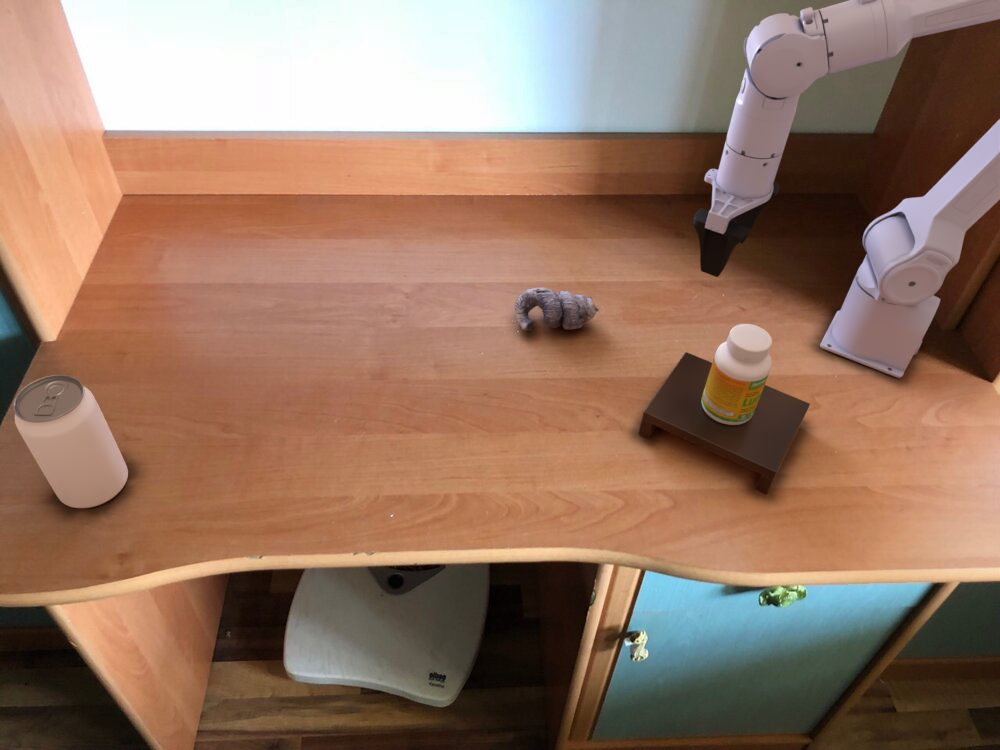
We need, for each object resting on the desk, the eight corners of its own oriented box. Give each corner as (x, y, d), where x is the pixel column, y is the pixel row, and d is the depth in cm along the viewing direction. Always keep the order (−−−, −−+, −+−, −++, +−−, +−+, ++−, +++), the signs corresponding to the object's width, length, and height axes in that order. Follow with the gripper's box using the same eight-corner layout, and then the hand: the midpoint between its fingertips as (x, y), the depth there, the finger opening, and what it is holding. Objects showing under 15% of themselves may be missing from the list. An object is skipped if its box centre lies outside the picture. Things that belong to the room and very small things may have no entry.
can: (138, 457, 79) (99, 370, 70) (117, 510, 74) (74, 425, 66) (71, 457, 78) (24, 370, 70) (46, 511, 74) (-7, 425, 65)
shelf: (800, 425, 85) (810, 403, 83) (766, 494, 78) (776, 472, 76) (679, 374, 90) (685, 351, 88) (638, 434, 83) (643, 411, 81)
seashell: (513, 334, 96) (594, 334, 97) (518, 326, 90) (604, 325, 92) (511, 291, 96) (592, 291, 98) (517, 280, 91) (602, 280, 92)
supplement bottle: (739, 435, 79) (766, 364, 72) (691, 410, 81) (712, 339, 75) (761, 404, 82) (789, 334, 75) (714, 381, 85) (737, 311, 78)
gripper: (741, 106, 85) (713, 214, 95) (689, 162, 77) (663, 275, 86) (806, 125, 83) (770, 234, 92) (759, 185, 74) (725, 298, 84)
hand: (723, 255), depth 89 cm, fingers open, 7 cm apart
